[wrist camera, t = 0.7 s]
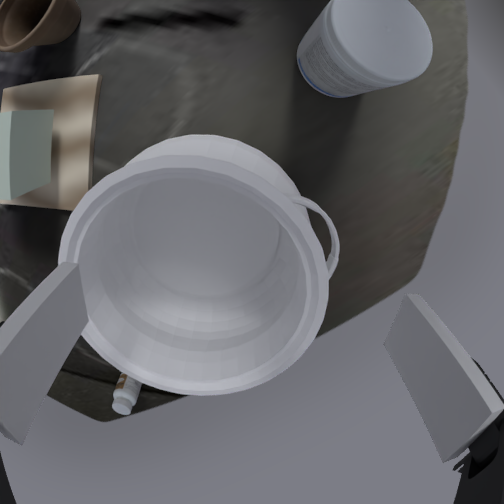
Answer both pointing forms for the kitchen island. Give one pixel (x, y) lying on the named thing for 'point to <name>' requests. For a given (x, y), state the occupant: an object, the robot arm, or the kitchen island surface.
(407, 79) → the supplement tub
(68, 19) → the flower pot
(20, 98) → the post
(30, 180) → the cube with orange handle
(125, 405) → the pill bottle
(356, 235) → the kitchen island surface
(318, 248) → the pot
